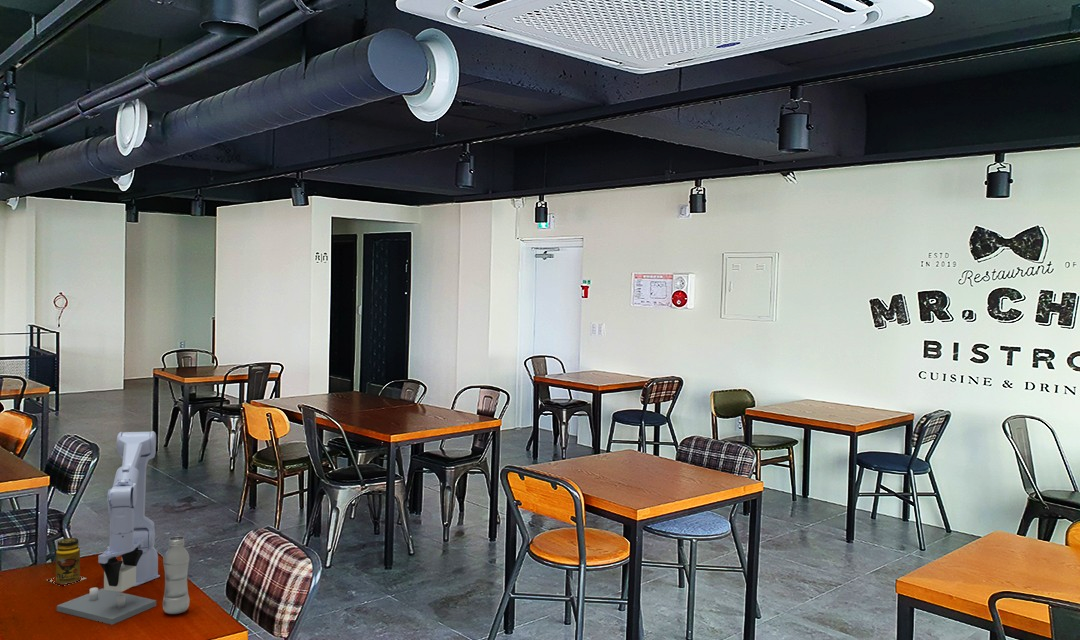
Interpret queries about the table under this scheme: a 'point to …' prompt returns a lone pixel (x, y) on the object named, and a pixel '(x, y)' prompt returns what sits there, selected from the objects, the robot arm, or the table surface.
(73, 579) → the condiment
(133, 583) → the collar
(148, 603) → the pin board
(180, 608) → the plastic bottle
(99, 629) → the table surface
